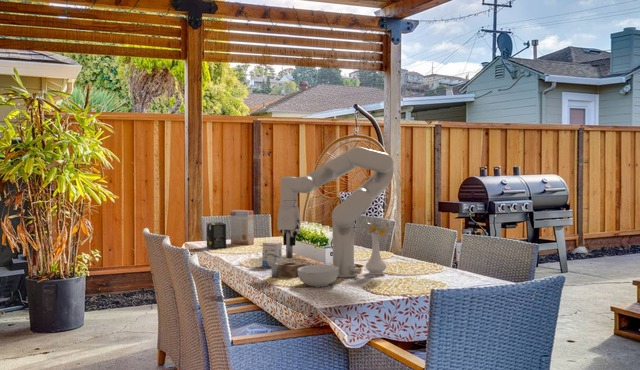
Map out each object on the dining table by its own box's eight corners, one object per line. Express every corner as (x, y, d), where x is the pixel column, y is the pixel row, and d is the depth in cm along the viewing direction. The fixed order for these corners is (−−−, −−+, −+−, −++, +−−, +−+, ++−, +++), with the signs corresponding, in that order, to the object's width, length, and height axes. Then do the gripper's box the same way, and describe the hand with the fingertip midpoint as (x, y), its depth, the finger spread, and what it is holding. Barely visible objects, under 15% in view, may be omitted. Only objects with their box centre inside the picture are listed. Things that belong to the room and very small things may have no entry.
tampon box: (206, 247, 356) (205, 222, 355) (221, 246, 360) (221, 221, 359) (211, 249, 346) (210, 224, 345) (226, 248, 350) (226, 223, 349)
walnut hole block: (304, 274, 267) (304, 263, 266) (293, 277, 260) (293, 266, 260) (287, 272, 272) (287, 261, 272) (275, 275, 266) (275, 264, 266)
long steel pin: (289, 258, 264) (289, 226, 263) (284, 257, 266) (284, 226, 265) (294, 257, 266) (294, 226, 266) (289, 256, 268) (288, 225, 267)
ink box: (261, 266, 290) (261, 242, 289) (267, 264, 294) (267, 240, 293) (276, 267, 286) (276, 243, 285) (282, 265, 290) (282, 241, 289)
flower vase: (375, 278, 256) (374, 220, 255) (355, 271, 273) (354, 217, 272) (401, 276, 262) (400, 219, 260) (379, 269, 278) (379, 216, 277)
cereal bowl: (315, 279, 256) (315, 263, 256) (346, 284, 246) (346, 267, 246) (289, 286, 243) (289, 268, 243) (320, 291, 233) (320, 273, 232)
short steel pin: (279, 277, 262) (279, 263, 262) (275, 278, 260) (275, 264, 259) (274, 276, 264) (274, 262, 264) (270, 277, 261) (269, 263, 261)
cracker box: (254, 244, 366) (253, 210, 365) (248, 245, 361) (247, 211, 360) (236, 242, 374) (236, 209, 373) (230, 243, 369) (229, 210, 368)
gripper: (269, 203, 267) (270, 244, 268) (298, 205, 257) (298, 247, 258) (280, 202, 273) (280, 242, 274) (308, 204, 263) (309, 245, 264)
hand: (289, 244), depth 266 cm, fingers closed on long steel pin, 3 cm apart
